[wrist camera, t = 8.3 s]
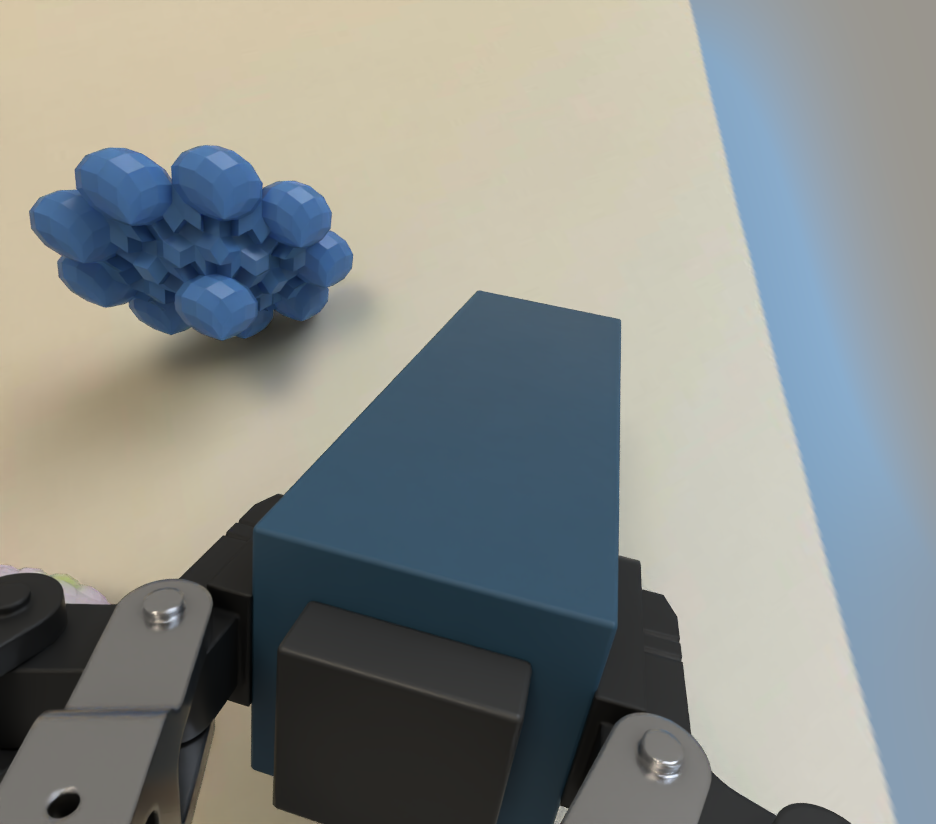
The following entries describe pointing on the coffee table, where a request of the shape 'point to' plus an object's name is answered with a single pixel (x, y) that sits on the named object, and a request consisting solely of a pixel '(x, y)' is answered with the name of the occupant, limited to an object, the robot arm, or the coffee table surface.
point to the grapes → (192, 241)
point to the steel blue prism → (447, 581)
